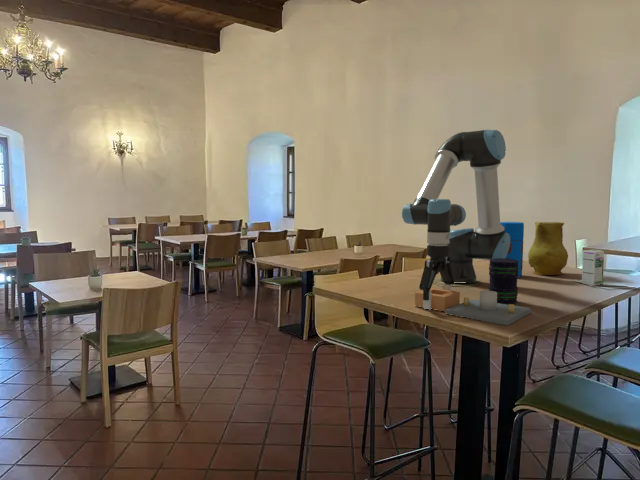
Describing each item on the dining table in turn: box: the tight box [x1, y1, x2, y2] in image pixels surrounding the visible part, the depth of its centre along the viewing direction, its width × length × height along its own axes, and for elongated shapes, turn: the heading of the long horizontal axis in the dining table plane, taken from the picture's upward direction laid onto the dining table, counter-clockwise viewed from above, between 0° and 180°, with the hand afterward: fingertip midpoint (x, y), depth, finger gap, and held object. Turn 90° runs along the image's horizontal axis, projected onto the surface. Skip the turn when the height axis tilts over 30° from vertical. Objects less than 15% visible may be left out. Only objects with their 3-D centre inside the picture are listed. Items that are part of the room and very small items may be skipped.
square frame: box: [414, 287, 461, 311], centre depth 163 cm, size 11×11×5 cm
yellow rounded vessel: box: [527, 221, 569, 276], centre depth 226 cm, size 17×19×25 cm
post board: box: [444, 290, 532, 326], centre depth 153 cm, size 20×20×7 cm
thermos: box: [500, 221, 525, 279], centre depth 221 cm, size 11×11×25 cm
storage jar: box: [487, 258, 519, 305], centre depth 169 cm, size 10×10×15 cm
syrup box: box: [581, 249, 605, 286], centre depth 201 cm, size 6×6×14 cm
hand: (437, 306), depth 163 cm, fingers open, 13 cm apart
